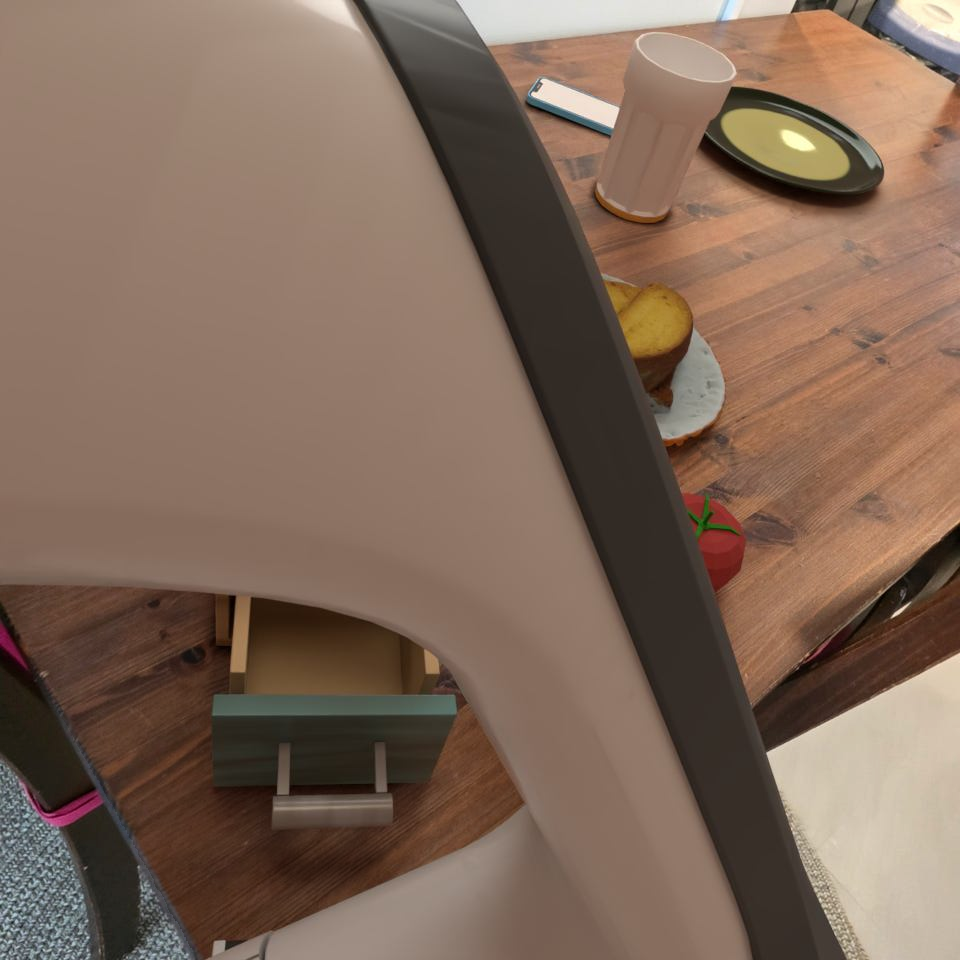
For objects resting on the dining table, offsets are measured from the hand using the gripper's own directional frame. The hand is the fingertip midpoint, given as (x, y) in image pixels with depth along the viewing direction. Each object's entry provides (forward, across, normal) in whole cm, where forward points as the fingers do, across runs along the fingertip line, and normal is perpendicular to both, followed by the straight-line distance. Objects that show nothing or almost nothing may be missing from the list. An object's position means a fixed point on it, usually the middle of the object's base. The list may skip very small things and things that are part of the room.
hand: (337, 947), depth 40 cm
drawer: (+15, 0, -6) cm, 16 cm away
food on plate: (+41, -25, -31) cm, 57 cm away
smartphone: (+77, -34, -67) cm, 108 cm away
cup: (+62, -36, -52) cm, 89 cm away
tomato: (+24, -27, -14) cm, 39 cm away
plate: (+76, -63, -66) cm, 118 cm away
